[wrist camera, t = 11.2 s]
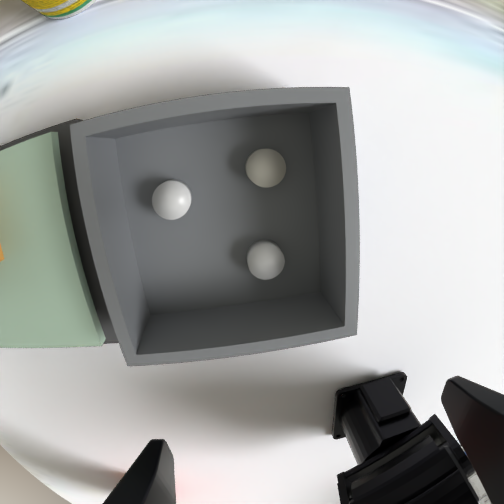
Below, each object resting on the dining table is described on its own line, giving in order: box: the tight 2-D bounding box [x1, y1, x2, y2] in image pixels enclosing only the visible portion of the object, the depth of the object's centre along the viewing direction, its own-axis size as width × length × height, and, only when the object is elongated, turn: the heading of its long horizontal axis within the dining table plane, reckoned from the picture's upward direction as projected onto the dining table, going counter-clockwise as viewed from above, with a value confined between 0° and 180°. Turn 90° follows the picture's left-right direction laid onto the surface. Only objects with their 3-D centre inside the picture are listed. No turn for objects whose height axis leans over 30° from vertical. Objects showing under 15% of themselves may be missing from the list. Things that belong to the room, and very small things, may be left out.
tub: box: [70, 87, 360, 366], centre depth 16 cm, size 12×12×5 cm
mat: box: [0, 119, 119, 344], centre depth 17 cm, size 14×14×1 cm
